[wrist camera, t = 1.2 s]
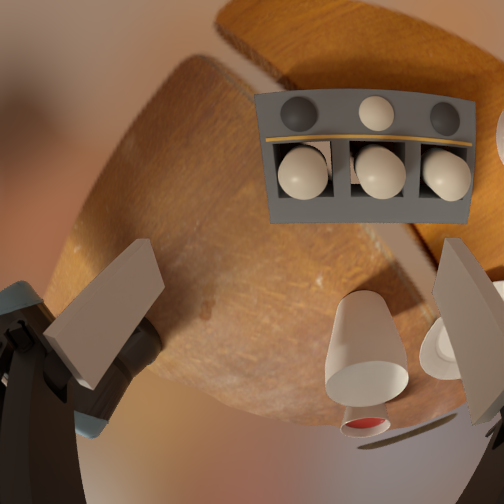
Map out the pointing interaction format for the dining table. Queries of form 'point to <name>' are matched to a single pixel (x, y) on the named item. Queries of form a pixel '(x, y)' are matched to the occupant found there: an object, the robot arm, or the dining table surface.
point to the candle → (365, 420)
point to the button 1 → (303, 172)
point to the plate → (443, 349)
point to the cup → (365, 353)
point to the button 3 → (445, 173)
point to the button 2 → (379, 171)
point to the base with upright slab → (500, 136)
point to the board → (365, 129)
